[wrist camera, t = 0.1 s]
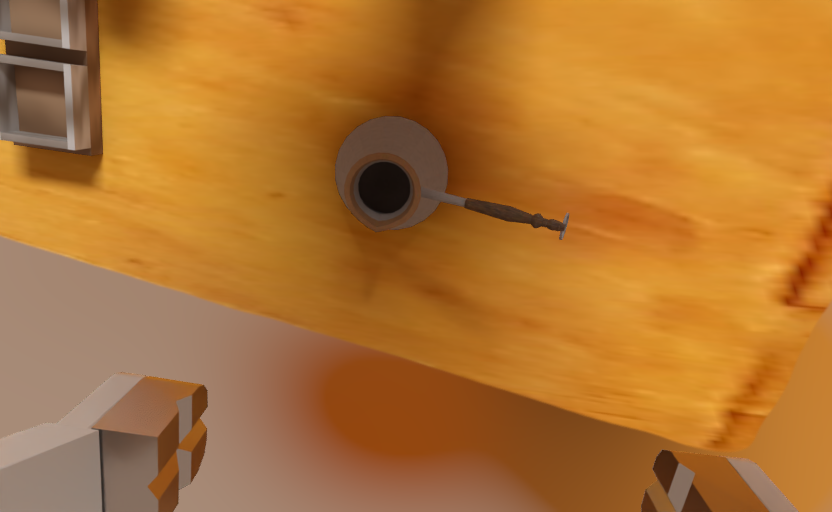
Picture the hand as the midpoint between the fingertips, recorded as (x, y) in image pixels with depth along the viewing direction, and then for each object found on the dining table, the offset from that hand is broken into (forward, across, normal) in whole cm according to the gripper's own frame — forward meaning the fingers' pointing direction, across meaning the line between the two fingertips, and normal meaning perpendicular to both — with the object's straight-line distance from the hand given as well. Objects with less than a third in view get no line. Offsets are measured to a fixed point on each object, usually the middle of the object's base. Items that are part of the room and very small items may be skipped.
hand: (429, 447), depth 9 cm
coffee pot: (+48, -1, +2) cm, 48 cm away
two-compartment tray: (+48, +39, -5) cm, 62 cm away
